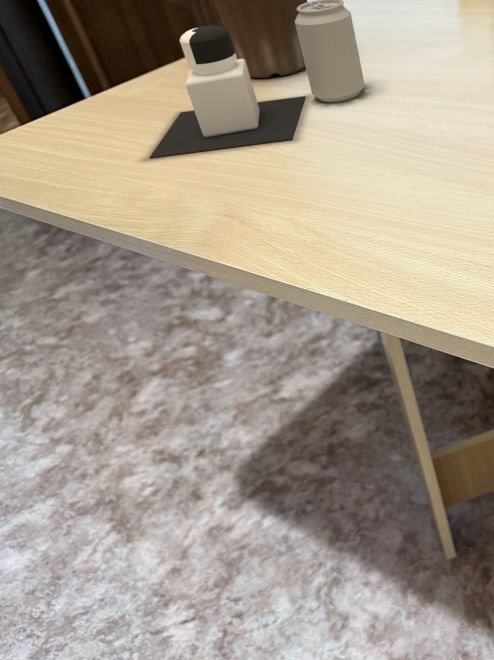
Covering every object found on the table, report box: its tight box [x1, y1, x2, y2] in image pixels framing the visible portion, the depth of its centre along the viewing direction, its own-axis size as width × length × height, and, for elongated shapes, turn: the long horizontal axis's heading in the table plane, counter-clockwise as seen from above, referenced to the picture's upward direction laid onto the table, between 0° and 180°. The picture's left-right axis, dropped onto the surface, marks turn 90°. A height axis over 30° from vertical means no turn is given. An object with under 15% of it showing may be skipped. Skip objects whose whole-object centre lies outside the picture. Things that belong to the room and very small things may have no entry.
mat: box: [148, 95, 306, 159], centre depth 92 cm, size 18×16×1 cm
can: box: [295, 0, 365, 103], centre depth 94 cm, size 8×8×12 cm
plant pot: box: [213, 0, 308, 79], centre depth 107 cm, size 16×16×16 cm
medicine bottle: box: [179, 24, 260, 138], centre depth 89 cm, size 7×7×12 cm
